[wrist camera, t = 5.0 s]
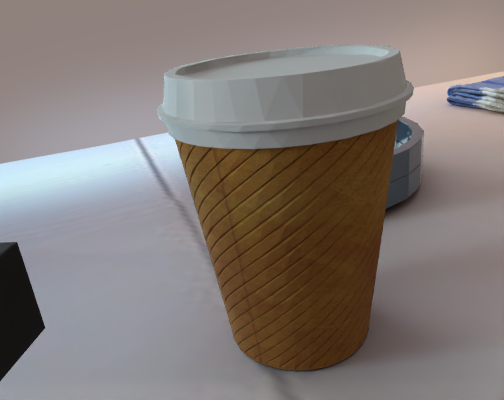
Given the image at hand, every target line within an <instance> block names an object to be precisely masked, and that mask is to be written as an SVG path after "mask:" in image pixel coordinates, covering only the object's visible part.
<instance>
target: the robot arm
mask: <svg viewBox="0 0 504 400" xmlns="http://www.w3.org/2000/svg"><path fill="white" fill-rule="evenodd" d="M44 329H45V326H44V323H43V320H42V317H41V313H40V310H39V307H38V304H37V301H36V298H35V295H34V292H33V289H32V286H31V283H30V280H29V277H28V274H27V271H26V268H25V265H24V262H23V259H22V256H21V253H20V250H19V247H18V244H17V242H8V243H0V381H1V380H2V378H3V377H4V376H5V375H6V374H7V372H8V371H9V370H10V369H11V368H12V367H13V365H14V364H15V363H16V362H17V361H18V359H19V358H20V357H21V356H22V355H23V354H24V352H25V351H26V350H27V349H28V348H29V346H30V345H31V344H32V343H33V342H34V340H35V339H36V338H37V337H38V336H39V335H40V333H41V332H42V331H43V330H44Z"/></svg>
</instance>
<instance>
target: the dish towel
mask: <svg viewBox="0 0 504 400" xmlns="http://www.w3.org/2000/svg"><path fill="white" fill-rule="evenodd" d="M447 93H448V96H449V97H448V98H447V101H448V102H449V103H450V104H453V105H460V106H467V107H475V108H485V109H488V110H492V111H497V112H503V113H504V76H503V77H498V78H493V79H489V80H486V81H482V82H478V83H472V84H467V85H456V86H452V87H450V88H449V89H448V91H447Z"/></svg>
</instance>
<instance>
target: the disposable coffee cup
mask: <svg viewBox="0 0 504 400" xmlns="http://www.w3.org/2000/svg"><path fill="white" fill-rule="evenodd" d="M413 89H414V87H413V86H412V84H411V82H409V81H407V80H406V79H405V74H404V69H403V64H402V59H401V55H400V51H399V50H398V49H396V48H393V47H389V46H374V45H338V46H318V47H304V48H292V49H281V50H271V51H263V52H254V53H246V54H240V55H233V56H227V57H221V58H215V59H210V60H204V61H199V62H195V63H191V64H187V65H183V66H179V67H176V68H173V69H171V70H169V71H167V72H166V73H165V74H164V103H162V104H161V105H160V106H159V107H158V108H157V112H158V116H159V119H160V120H161V121H163V122H165V123H166V124H167V128H168V132H169V135H170V136H172V137H173V138H174V139H175V141H176V144H177V147H178V151H179V154H180V158H181V160H182V164H183V167H184V170H185V174H186V177H187V180H188V183H189V187H190V190H191V194H192V197H193V200H194V204H195V207H196V210H197V213H198V217H199V220H200V224H201V227H202V230H203V233H204V237H205V240H206V244H207V247H208V250H209V254H210V257H211V261H212V264H213V267H214V270H215V274H216V277H217V281H218V284H219V287H220V290H221V294H222V297H223V300H224V304H225V307H226V310H227V314H228V317H229V321H230V324H231V327H232V331H233V335H234V339H235V341H236V342H237V344H238V346H239V347H240V349H241V350H242V351H243V352H244V353H245V354H246V355H247V356H249V357H250V358H252V359H254V360H255V361H257V362H259V363H262V364H265V365H267V366H270V367H273V368H278V369H282V370H295V371H301V370H314V369H319V368H323V367H328V366H330V365H333V364H335V363H337V362H340V361H342V360H344V359H346V358H347V357H349V356H351V355H352V354H353V353H354V352H355V351H356V350H357V349H358V348H359V347H360V346H361V345H362V343H363V342H364V340H365V338H366V336H367V333H368V328H369V319H370V312H371V305H372V298H373V292H374V284H375V278H376V271H377V264H378V258H379V250H380V244H381V236H382V230H383V223H384V217H385V209H386V203H387V196H388V190H389V184H390V175H391V170H392V161H393V155H394V146H395V140H396V132H397V126H398V120H399V118H400V117H401V116H403V115H404V113H405V105H406V101H407V100H409V99H410V97H411V96H412V95H413Z"/></svg>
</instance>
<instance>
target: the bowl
mask: <svg viewBox="0 0 504 400" xmlns="http://www.w3.org/2000/svg"><path fill="white" fill-rule="evenodd" d="M423 142H424V131H423V130H422V128H421V127H420V126H419V125H418V123H416V122H413V121H411V120H409V119H407V118H405V117H400V118H399V120H398V126H397V132H396V140H395V146H394V155H393V161H392V170H391V175H390V184H389V190H388V196H387V203H386V208H389V207H391V206H393V205H395V204H397V203H399V202H401V201H403V200H405V199H407V198H408V197H410V196H411V195H412V194H413V193H414V192H415V191H416V190H417V189H418V188H419V187H420V183H421V179H422V166H423Z"/></svg>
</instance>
